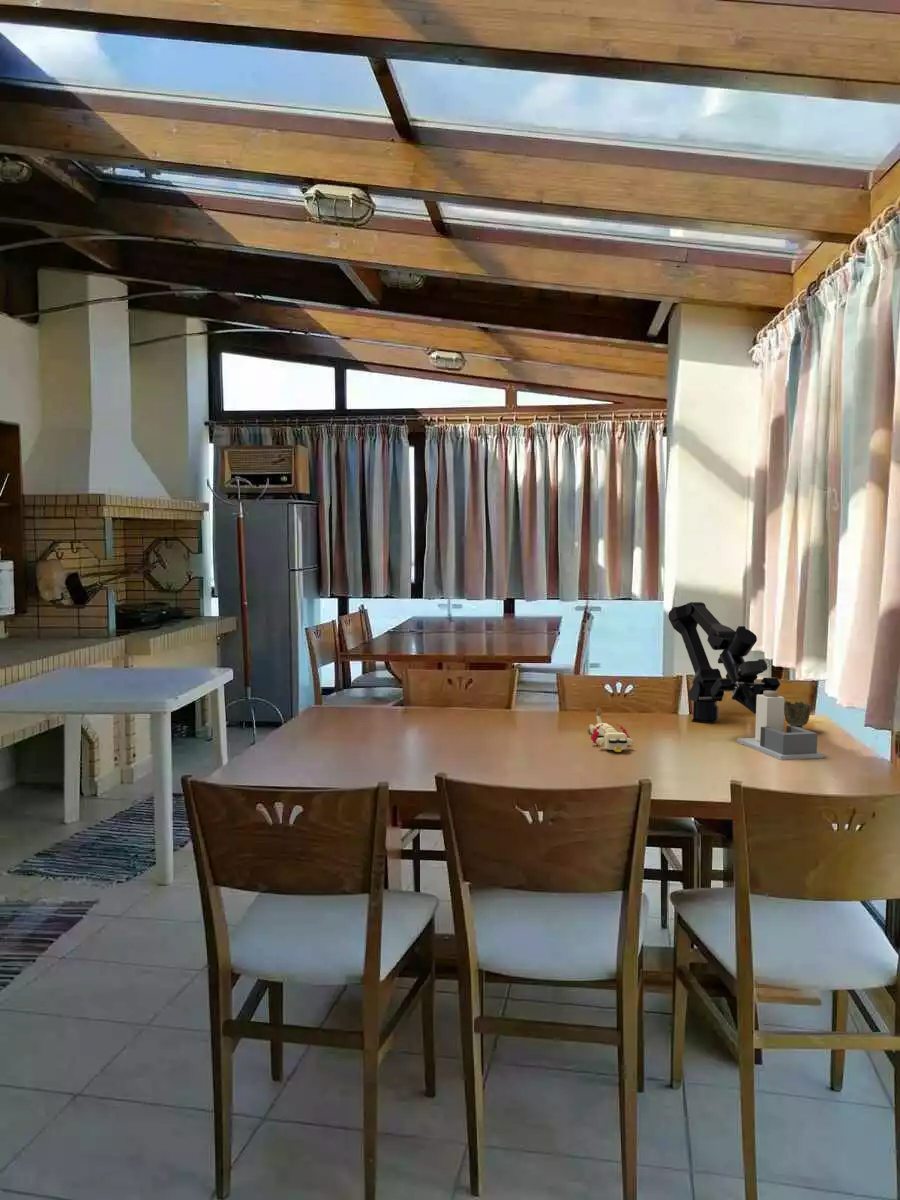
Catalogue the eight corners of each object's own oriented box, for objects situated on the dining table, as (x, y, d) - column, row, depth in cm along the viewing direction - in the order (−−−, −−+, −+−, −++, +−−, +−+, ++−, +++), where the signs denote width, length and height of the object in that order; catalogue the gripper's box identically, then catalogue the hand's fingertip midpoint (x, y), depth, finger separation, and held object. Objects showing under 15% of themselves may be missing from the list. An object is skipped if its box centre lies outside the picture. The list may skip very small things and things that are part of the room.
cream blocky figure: (579, 738, 252) (599, 752, 227) (580, 707, 252) (599, 717, 227) (615, 738, 252) (638, 752, 227) (615, 707, 252) (638, 717, 227)
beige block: (755, 739, 241) (756, 690, 240) (771, 738, 242) (773, 689, 241) (765, 743, 236) (767, 693, 235) (782, 742, 237) (784, 692, 236)
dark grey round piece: (806, 728, 263) (807, 701, 262) (813, 733, 255) (814, 705, 255) (779, 727, 263) (780, 700, 263) (786, 732, 256) (787, 705, 255)
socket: (737, 742, 243) (737, 720, 243) (776, 740, 246) (777, 718, 245) (780, 759, 224) (781, 735, 223) (823, 757, 226) (824, 734, 226)
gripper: (717, 649, 247) (737, 696, 237) (777, 648, 251) (800, 694, 241) (701, 674, 255) (720, 720, 245) (760, 672, 259) (782, 718, 249)
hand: (756, 712), depth 245 cm, fingers closed
